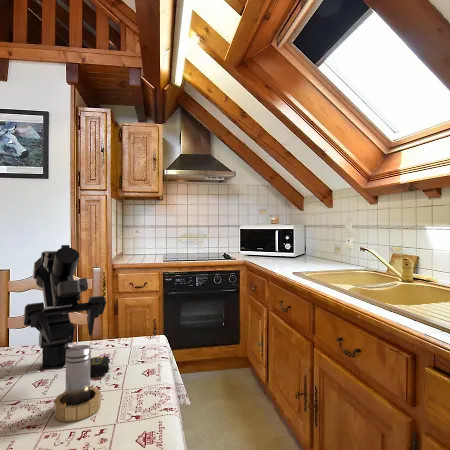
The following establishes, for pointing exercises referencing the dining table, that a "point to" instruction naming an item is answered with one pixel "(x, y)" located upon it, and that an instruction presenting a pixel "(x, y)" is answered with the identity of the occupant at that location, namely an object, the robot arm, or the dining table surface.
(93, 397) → the ring collar
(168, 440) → the dining table surface
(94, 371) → the tape measure
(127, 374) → the dining table surface
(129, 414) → the dining table surface
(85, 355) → the grey metal cylinder
